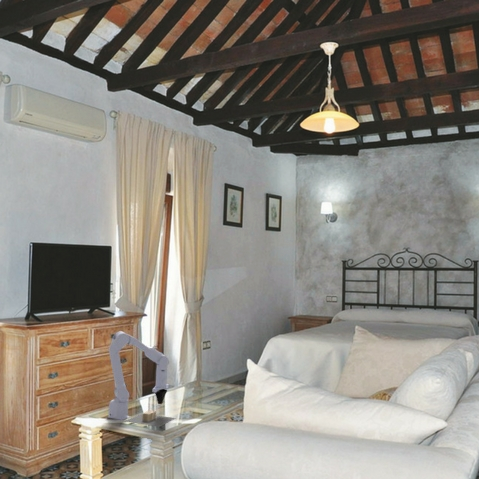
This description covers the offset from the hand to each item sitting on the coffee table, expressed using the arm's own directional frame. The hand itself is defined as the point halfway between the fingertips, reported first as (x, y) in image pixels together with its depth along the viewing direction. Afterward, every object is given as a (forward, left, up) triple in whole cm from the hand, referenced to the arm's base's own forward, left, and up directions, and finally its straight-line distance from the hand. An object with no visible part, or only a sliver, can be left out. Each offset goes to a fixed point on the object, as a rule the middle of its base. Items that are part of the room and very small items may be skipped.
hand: (160, 403), depth 301 cm
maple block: (0, -7, -4) cm, 8 cm away
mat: (+1, -11, -6) cm, 13 cm away
